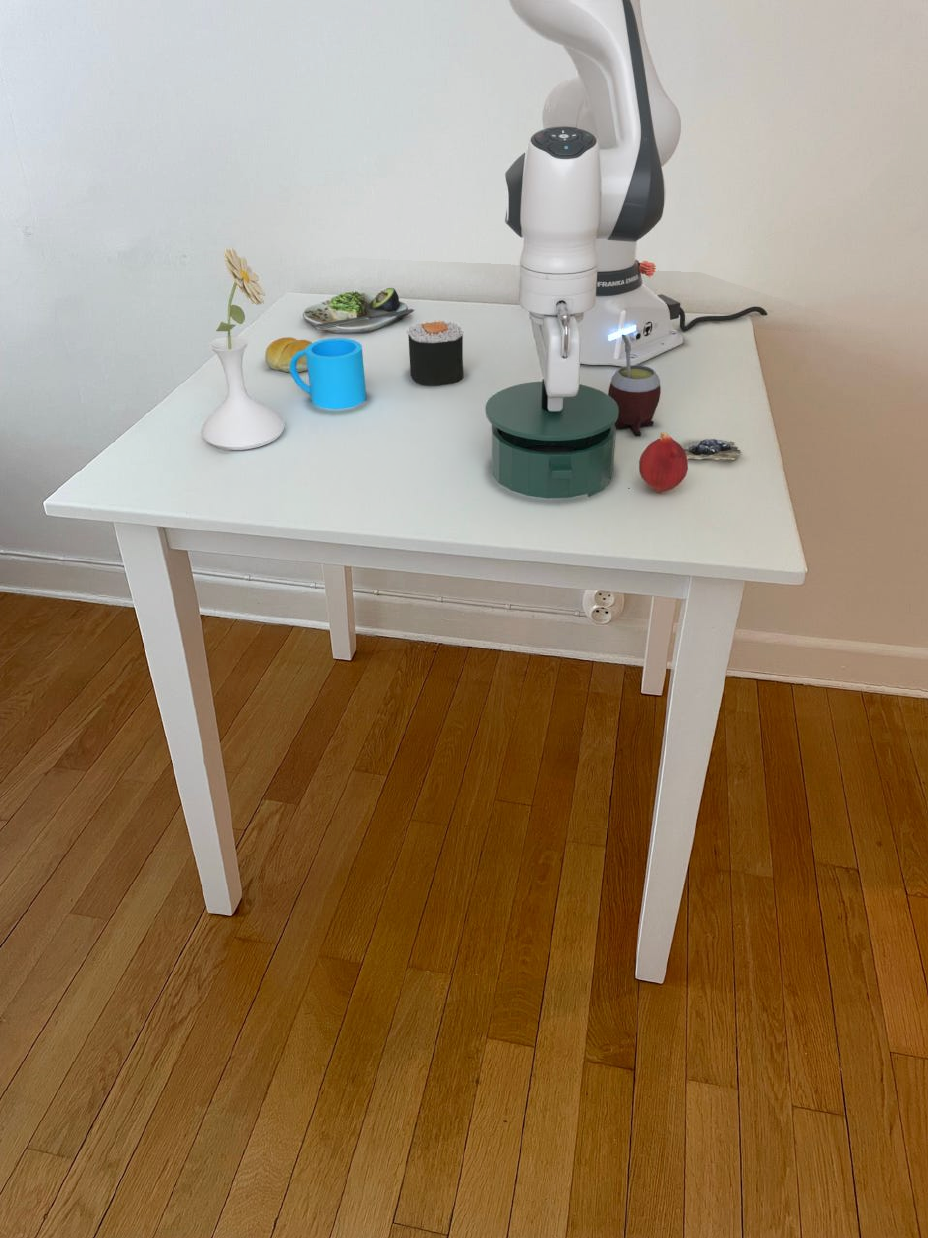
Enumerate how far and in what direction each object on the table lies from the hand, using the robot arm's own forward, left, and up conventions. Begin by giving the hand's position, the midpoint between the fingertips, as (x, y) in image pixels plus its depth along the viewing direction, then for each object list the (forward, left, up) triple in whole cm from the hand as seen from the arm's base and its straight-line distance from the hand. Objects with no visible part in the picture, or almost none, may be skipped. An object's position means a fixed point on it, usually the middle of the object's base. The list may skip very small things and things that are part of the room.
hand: (552, 401), depth 117 cm
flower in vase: (+28, -33, -10) cm, 44 cm away
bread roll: (+11, -54, -10) cm, 56 cm away
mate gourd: (-17, -4, -10) cm, 20 cm away
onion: (-8, +12, -10) cm, 18 cm away
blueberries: (-20, +8, -10) cm, 24 cm away
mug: (+13, -38, -10) cm, 41 cm away
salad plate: (-8, -67, -10) cm, 68 cm away
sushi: (-5, -36, -10) cm, 37 cm away
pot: (0, 0, -10) cm, 10 cm away
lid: (0, 0, -1) cm, 1 cm away
